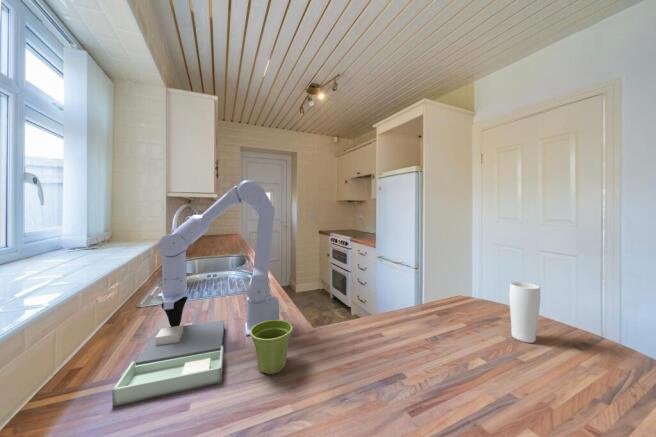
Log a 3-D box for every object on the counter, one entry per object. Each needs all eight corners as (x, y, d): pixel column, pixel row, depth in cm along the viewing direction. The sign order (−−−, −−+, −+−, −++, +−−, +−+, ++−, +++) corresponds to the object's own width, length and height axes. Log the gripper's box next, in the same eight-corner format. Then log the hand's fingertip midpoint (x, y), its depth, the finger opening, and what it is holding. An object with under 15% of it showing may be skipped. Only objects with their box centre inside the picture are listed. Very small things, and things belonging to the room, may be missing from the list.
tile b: (183, 332, 66) (183, 325, 66) (179, 341, 62) (179, 333, 62) (161, 335, 65) (161, 328, 65) (155, 345, 60) (155, 337, 60)
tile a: (208, 371, 50) (208, 381, 50) (210, 357, 55) (210, 366, 55) (180, 377, 49) (180, 387, 49) (185, 362, 53) (185, 371, 53)
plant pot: (254, 385, 50) (254, 343, 49) (247, 360, 58) (246, 324, 58) (298, 371, 54) (298, 333, 54) (285, 350, 62) (285, 316, 62)
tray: (223, 357, 59) (223, 345, 59) (221, 382, 51) (221, 368, 51) (132, 375, 53) (132, 361, 53) (112, 406, 44) (112, 390, 44)
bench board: (224, 328, 74) (224, 320, 74) (221, 357, 59) (221, 347, 59) (157, 338, 68) (157, 329, 68) (135, 373, 53) (135, 362, 53)
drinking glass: (534, 335, 70) (535, 283, 69) (543, 347, 64) (544, 290, 63) (505, 330, 73) (506, 280, 72) (511, 341, 67) (512, 286, 66)
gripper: (164, 272, 74) (165, 317, 74) (148, 286, 60) (149, 340, 61) (191, 270, 76) (192, 313, 77) (181, 283, 63) (182, 335, 63)
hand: (175, 325), depth 69 cm, fingers closed
